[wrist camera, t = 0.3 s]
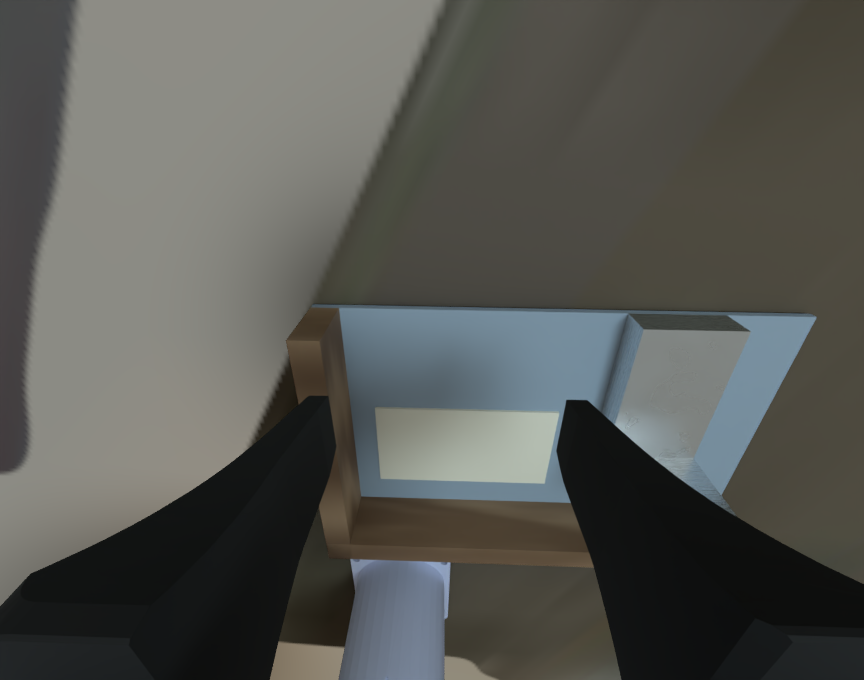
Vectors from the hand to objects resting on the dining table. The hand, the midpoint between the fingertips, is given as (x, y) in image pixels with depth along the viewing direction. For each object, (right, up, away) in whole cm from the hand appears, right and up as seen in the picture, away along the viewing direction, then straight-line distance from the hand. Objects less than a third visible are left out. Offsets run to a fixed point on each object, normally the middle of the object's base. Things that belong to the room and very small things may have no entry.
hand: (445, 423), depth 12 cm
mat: (+6, -3, +12) cm, 14 cm away
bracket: (+12, 0, +10) cm, 16 cm away
